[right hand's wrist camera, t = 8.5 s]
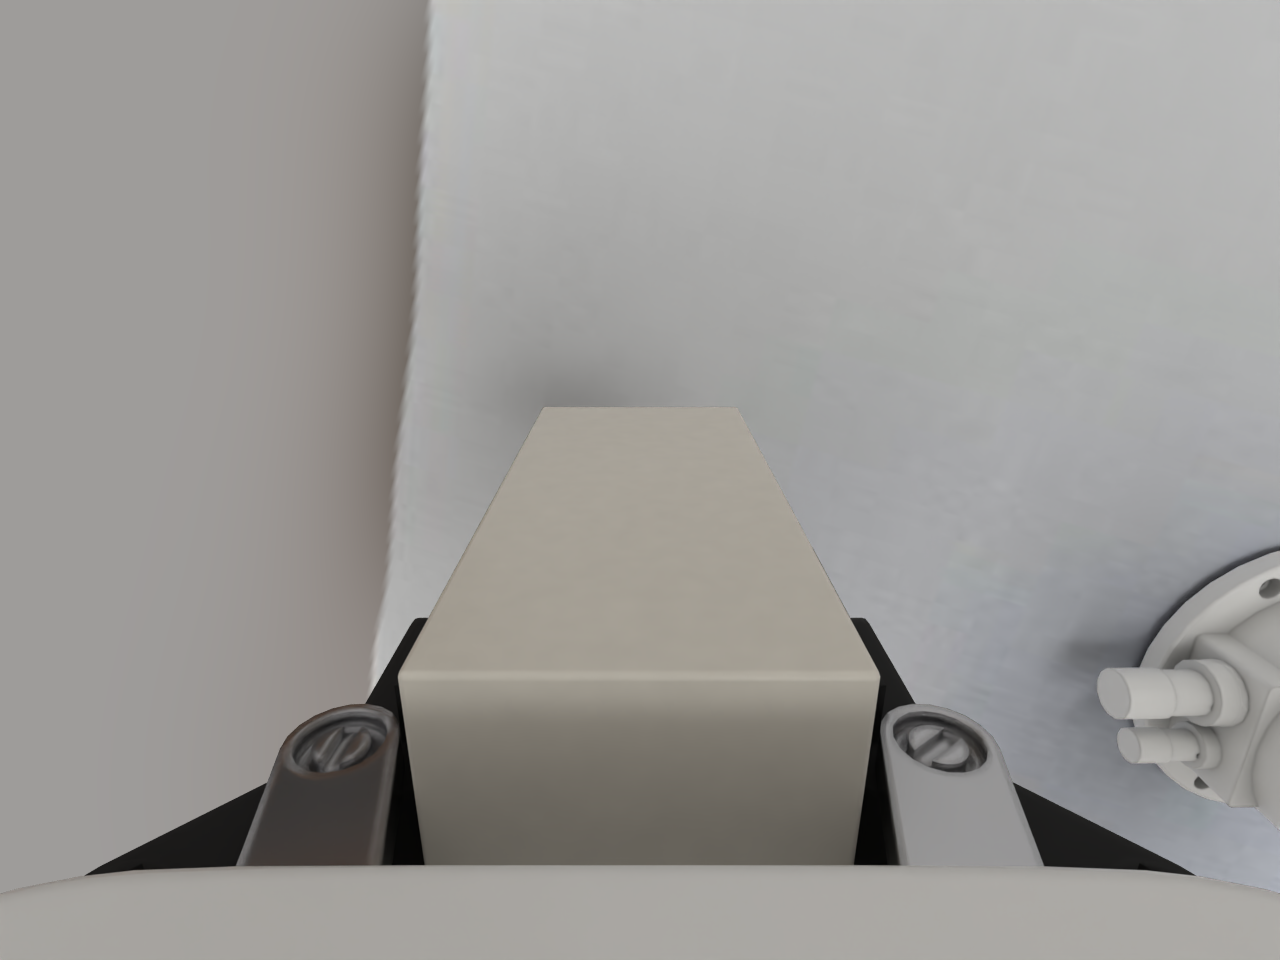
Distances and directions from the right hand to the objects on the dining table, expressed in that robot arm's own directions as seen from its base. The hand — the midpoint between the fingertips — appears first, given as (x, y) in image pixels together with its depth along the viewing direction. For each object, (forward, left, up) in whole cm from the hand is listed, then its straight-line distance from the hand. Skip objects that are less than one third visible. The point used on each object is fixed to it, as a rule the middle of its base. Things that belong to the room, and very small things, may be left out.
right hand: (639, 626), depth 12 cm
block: (0, 0, -4) cm, 4 cm away
